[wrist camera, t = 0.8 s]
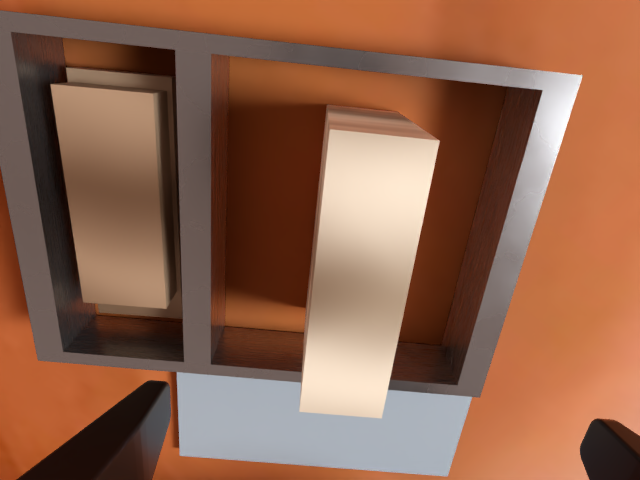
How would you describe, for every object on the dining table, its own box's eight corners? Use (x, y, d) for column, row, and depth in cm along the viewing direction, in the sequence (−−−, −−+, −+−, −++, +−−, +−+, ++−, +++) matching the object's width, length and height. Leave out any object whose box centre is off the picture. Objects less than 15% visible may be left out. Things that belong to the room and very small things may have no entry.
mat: (445, 469, 26) (447, 476, 26) (182, 448, 26) (179, 455, 25) (472, 378, 23) (475, 385, 23) (179, 353, 23) (176, 359, 22)
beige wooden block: (363, 312, 22) (381, 418, 15) (305, 307, 22) (299, 411, 15) (397, 111, 18) (439, 140, 12) (326, 104, 18) (330, 129, 11)
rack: (460, 356, 23) (479, 397, 20) (73, 322, 22) (37, 360, 19) (540, 72, 17) (582, 75, 14) (28, 16, 17) (-31, 7, 14)
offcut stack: (191, 302, 22) (172, 337, 19) (113, 296, 22) (82, 330, 19) (183, 76, 18) (157, 79, 15) (86, 66, 18) (42, 68, 15)
